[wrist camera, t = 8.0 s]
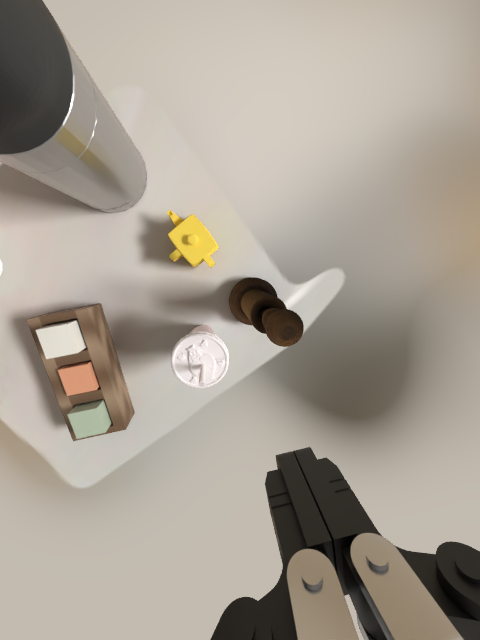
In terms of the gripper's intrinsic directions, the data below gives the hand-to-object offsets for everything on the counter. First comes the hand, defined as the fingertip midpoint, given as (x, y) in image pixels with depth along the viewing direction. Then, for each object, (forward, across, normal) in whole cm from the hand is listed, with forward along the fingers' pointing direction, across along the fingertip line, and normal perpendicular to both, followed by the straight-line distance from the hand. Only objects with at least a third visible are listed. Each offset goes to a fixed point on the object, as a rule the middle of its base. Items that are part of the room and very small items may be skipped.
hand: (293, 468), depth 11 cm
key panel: (+27, +21, +2) cm, 34 cm away
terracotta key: (+25, +21, +2) cm, 33 cm away
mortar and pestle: (+27, -3, -3) cm, 28 cm away
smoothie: (+27, +5, +1) cm, 28 cm away
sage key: (+24, +21, +7) cm, 33 cm away
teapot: (+27, +4, -12) cm, 30 cm away
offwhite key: (+24, +21, -3) cm, 32 cm away
